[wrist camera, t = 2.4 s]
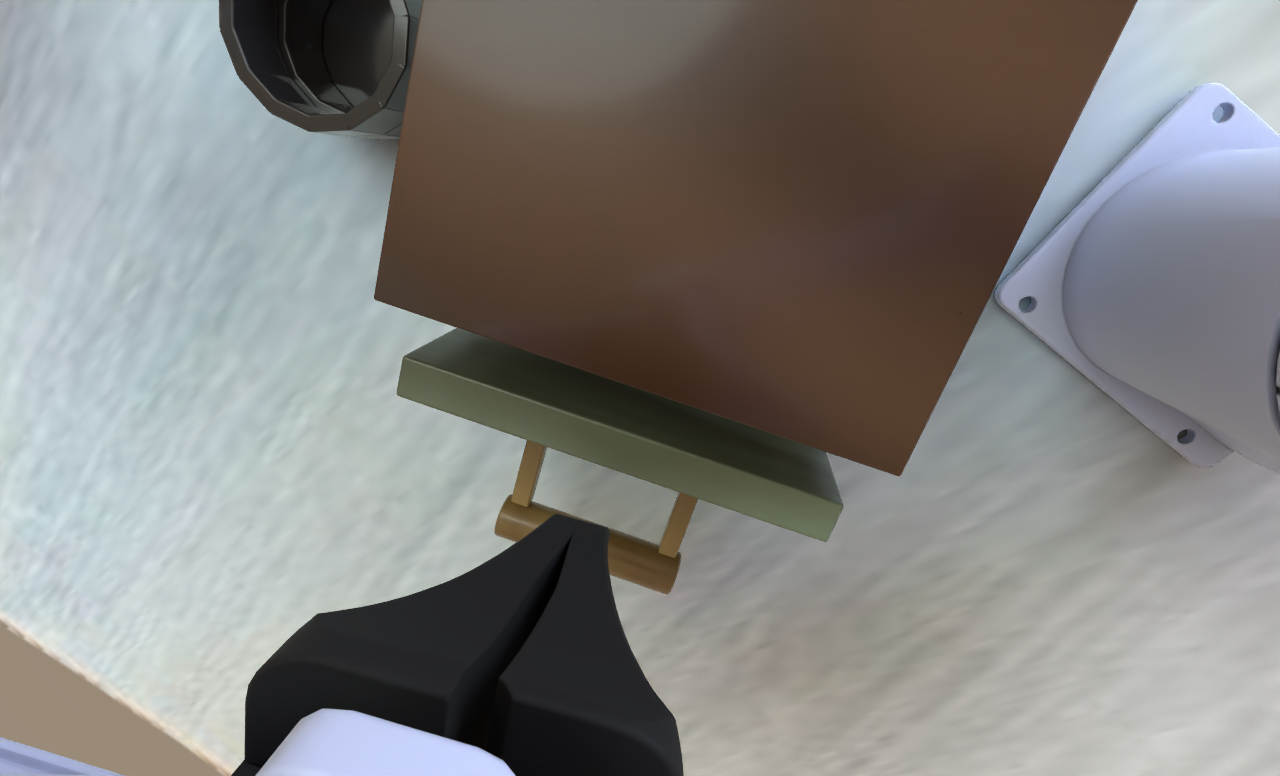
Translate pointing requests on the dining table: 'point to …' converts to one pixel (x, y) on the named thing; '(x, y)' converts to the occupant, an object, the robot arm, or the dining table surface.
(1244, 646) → the dining table surface
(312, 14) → the cup
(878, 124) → the cabinet
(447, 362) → the drawer
